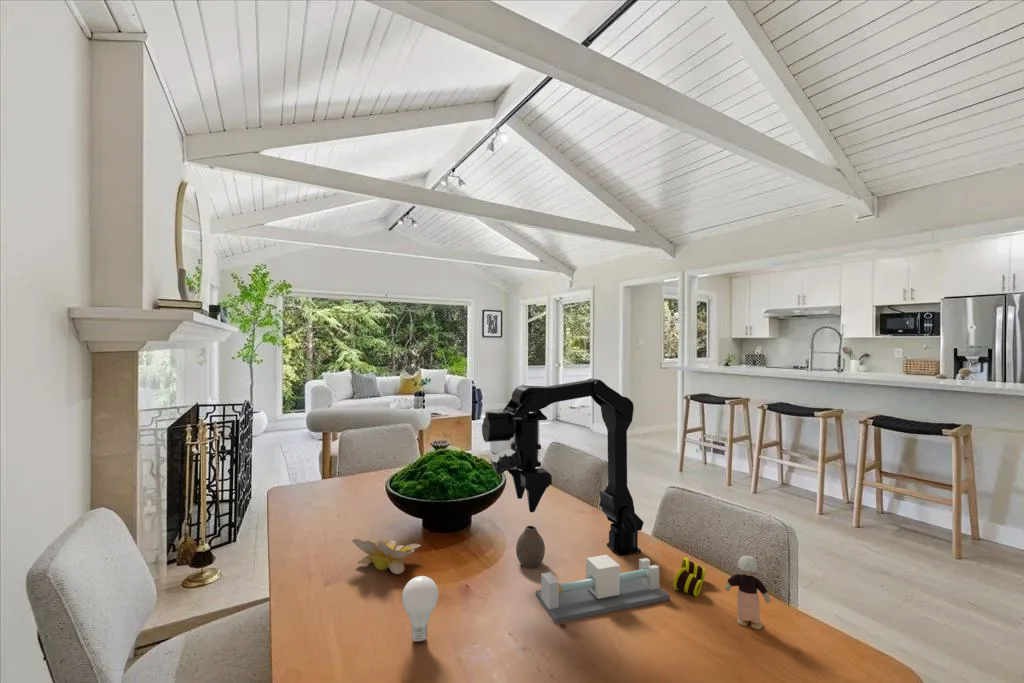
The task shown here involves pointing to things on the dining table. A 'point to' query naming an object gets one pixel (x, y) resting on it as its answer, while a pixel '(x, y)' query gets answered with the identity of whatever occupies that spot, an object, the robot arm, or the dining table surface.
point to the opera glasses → (689, 577)
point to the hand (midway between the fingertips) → (525, 504)
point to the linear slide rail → (582, 603)
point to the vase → (530, 548)
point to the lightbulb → (419, 604)
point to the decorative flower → (384, 554)
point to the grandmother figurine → (748, 593)
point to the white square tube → (603, 575)
